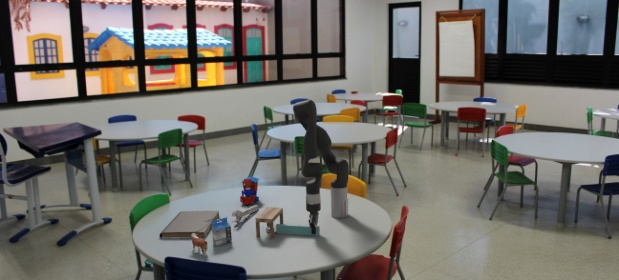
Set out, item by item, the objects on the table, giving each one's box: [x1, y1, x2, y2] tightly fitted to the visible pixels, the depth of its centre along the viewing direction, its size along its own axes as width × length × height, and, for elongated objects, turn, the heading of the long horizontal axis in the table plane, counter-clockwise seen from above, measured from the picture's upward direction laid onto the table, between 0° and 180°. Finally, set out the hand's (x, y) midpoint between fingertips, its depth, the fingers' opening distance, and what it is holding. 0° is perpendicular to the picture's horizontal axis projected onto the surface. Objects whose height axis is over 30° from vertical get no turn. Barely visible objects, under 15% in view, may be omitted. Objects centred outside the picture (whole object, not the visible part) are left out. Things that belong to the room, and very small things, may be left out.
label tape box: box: [211, 217, 233, 247], centre depth 266 cm, size 9×4×12 cm, turn 126°
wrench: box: [231, 204, 260, 224], centre depth 304 cm, size 8×2×30 cm
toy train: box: [239, 176, 260, 205], centre depth 330 cm, size 10×16×15 cm, turn 172°
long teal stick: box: [275, 223, 321, 237], centre depth 276 cm, size 23×2×4 cm, turn 76°
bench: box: [255, 206, 284, 240], centre depth 280 cm, size 9×18×10 cm, turn 166°
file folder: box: [159, 210, 220, 239], centre depth 292 cm, size 33×4×24 cm
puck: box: [265, 226, 276, 234], centre depth 281 cm, size 4×4×2 cm
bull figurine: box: [189, 233, 208, 256], centre depth 257 cm, size 4×13×8 cm, turn 41°
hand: (314, 233), depth 275 cm, fingers closed
